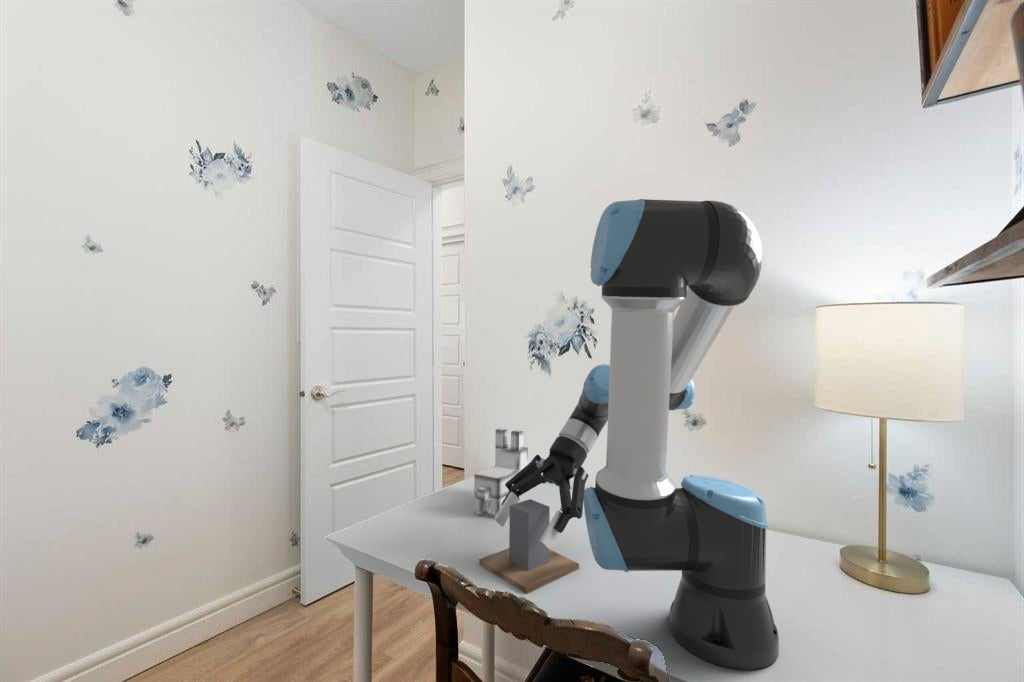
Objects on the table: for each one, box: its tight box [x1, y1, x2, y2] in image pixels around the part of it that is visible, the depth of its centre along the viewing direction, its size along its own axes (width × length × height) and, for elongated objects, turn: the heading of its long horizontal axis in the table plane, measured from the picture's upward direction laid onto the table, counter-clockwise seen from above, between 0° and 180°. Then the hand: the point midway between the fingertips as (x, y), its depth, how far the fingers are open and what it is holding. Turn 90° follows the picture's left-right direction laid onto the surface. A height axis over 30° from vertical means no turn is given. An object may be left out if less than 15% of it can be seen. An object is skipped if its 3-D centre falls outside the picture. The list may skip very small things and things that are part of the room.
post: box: [478, 547, 580, 594], centre depth 91 cm, size 14×14×8 cm
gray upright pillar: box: [508, 499, 551, 571], centre depth 91 cm, size 6×6×11 cm
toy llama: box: [473, 427, 529, 519], centre depth 123 cm, size 8×18×20 cm, turn 150°
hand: (520, 533), depth 90 cm, fingers open, 13 cm apart
